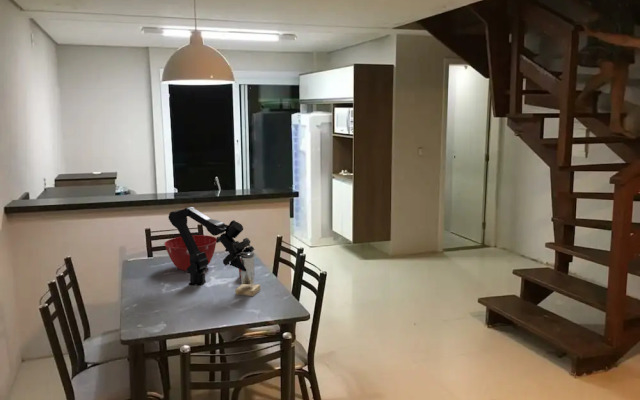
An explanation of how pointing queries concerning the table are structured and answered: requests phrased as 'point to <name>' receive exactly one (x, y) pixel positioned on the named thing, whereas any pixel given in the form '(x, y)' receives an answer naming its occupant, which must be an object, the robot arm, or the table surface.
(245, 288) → the oak board
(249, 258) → the canister
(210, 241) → the mixing bowl
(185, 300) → the table surface
